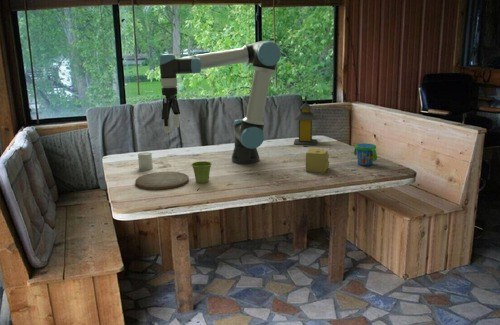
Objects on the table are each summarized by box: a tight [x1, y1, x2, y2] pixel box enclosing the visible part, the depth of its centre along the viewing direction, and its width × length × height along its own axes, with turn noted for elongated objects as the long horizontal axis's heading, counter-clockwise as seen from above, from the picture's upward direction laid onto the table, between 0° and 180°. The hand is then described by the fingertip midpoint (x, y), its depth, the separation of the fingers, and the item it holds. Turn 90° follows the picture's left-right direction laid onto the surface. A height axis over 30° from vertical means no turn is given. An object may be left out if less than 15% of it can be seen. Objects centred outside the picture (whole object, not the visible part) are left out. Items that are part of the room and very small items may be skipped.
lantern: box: [293, 94, 318, 146], centre depth 296 cm, size 14×14×30 cm
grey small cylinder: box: [137, 151, 154, 172], centre depth 247 cm, size 7×7×8 cm
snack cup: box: [353, 143, 378, 166], centre depth 247 cm, size 16×10×10 cm
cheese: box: [305, 147, 330, 174], centre depth 239 cm, size 10×11×10 cm
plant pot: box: [191, 160, 212, 184], centre depth 223 cm, size 9×9×9 cm
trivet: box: [135, 171, 190, 191], centre depth 225 cm, size 25×25×2 cm
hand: (172, 130), depth 234 cm, fingers open, 13 cm apart
